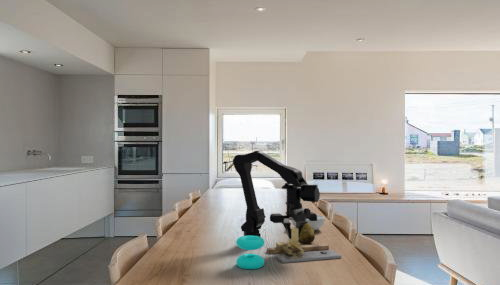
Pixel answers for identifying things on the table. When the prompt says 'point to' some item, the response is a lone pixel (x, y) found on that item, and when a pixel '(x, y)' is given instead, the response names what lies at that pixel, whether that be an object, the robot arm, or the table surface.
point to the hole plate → (307, 256)
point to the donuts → (250, 259)
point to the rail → (283, 248)
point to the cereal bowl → (314, 222)
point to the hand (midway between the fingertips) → (293, 238)
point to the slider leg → (294, 240)
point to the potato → (307, 234)
